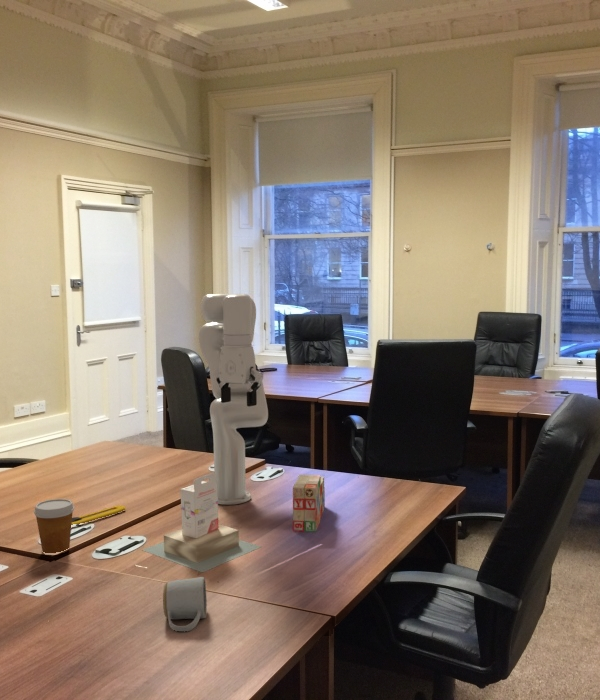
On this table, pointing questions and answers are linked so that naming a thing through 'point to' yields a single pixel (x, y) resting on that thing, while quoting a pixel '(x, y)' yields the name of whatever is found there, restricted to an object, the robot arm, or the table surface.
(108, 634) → the table surface
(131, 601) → the table surface
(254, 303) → the robot arm
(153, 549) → the mat
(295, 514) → the stack of blocks
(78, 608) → the table surface
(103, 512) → the utility knife
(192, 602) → the ceramic mug
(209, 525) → the ink cartridge box
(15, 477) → the table surface
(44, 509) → the disposable coffee cup
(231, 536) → the base block
